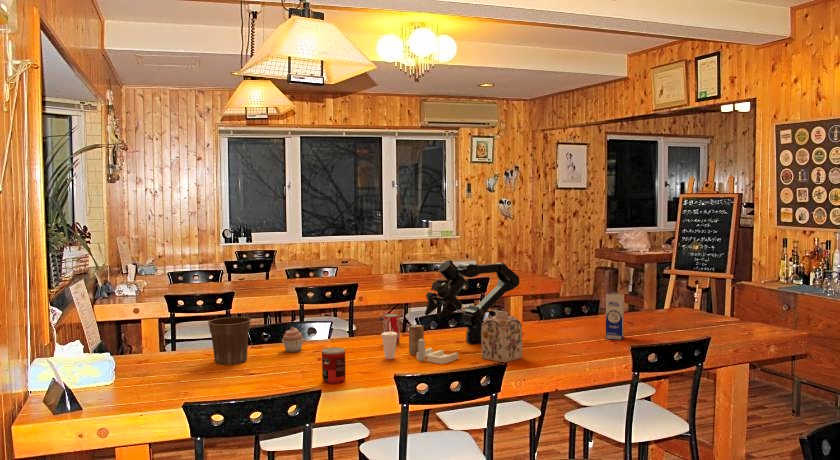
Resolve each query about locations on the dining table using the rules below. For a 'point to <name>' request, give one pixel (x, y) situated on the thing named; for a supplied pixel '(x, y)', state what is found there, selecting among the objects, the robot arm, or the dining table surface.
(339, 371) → the canned food
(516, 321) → the decorative jar
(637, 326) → the dining table surface
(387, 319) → the soda can
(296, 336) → the cupcake
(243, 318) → the plant pot
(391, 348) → the smoothie
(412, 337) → the brown long block
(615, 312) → the milk carton
